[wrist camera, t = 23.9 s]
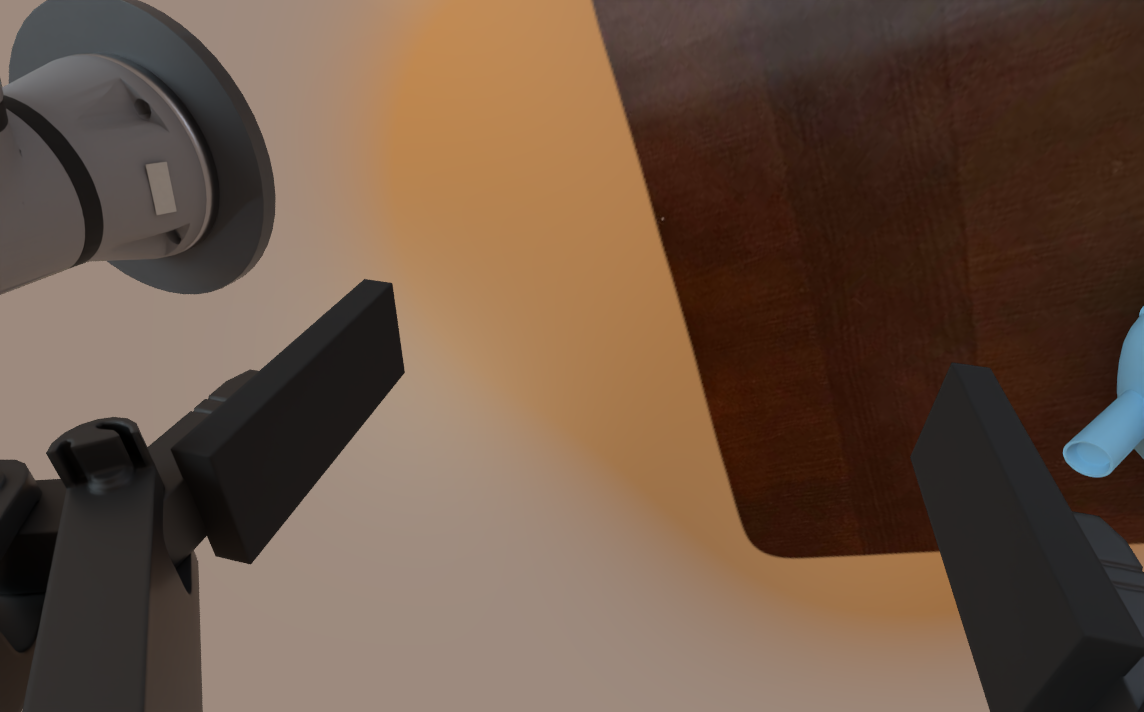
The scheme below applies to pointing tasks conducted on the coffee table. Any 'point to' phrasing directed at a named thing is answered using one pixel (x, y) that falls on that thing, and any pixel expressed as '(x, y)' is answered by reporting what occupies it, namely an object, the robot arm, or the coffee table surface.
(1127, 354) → the teapot
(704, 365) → the coffee table surface
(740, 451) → the coffee table surface
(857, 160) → the coffee table surface
